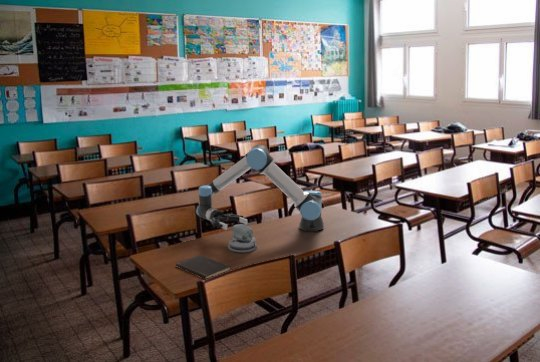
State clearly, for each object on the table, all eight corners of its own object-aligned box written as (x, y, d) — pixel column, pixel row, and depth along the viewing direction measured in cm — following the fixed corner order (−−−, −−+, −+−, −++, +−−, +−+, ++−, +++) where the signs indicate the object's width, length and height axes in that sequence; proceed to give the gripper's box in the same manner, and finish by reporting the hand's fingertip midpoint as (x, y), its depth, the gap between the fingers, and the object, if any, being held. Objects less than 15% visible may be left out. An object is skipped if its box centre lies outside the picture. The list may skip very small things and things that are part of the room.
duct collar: (245, 240, 294) (245, 233, 293) (263, 248, 282) (263, 240, 281) (222, 247, 285) (222, 239, 284) (239, 255, 273) (239, 247, 272)
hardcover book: (200, 258, 270) (200, 254, 270) (230, 270, 255) (230, 266, 254) (175, 267, 259) (175, 263, 258) (205, 280, 243) (205, 276, 243)
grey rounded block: (259, 235, 280) (250, 220, 277) (247, 246, 275) (237, 231, 272) (247, 234, 291) (237, 220, 288) (235, 245, 287) (225, 230, 284)
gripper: (232, 217, 308) (254, 226, 292) (196, 226, 293) (218, 236, 277) (232, 205, 306) (254, 213, 291) (196, 213, 291) (217, 222, 275)
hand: (237, 224), depth 284 cm, fingers open, 13 cm apart
